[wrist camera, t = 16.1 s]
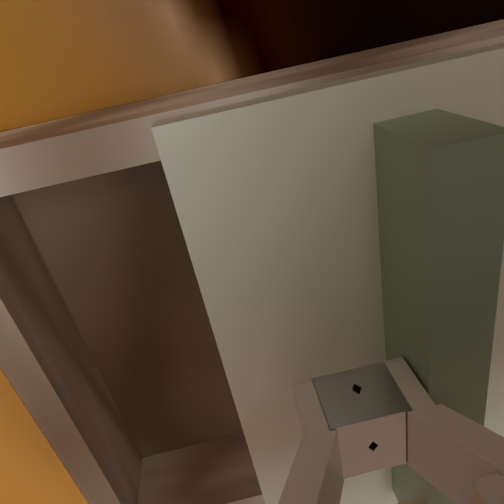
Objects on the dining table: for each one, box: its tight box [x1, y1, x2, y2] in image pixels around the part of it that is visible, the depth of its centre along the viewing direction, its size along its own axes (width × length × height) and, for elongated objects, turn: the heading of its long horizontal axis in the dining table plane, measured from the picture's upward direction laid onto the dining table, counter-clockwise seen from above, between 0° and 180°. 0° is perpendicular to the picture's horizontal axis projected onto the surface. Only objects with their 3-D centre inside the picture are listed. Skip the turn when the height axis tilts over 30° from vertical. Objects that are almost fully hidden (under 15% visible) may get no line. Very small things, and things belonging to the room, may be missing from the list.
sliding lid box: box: [0, 19, 504, 504], centre depth 14 cm, size 22×15×4 cm
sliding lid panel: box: [151, 43, 504, 504], centre depth 11 cm, size 10×15×3 cm
